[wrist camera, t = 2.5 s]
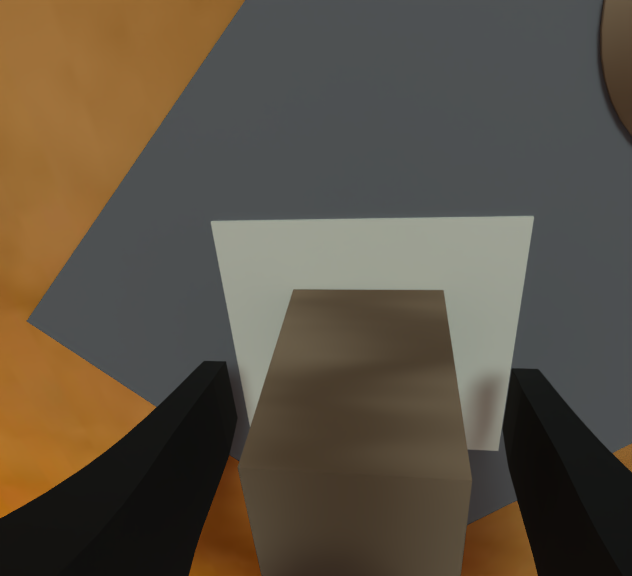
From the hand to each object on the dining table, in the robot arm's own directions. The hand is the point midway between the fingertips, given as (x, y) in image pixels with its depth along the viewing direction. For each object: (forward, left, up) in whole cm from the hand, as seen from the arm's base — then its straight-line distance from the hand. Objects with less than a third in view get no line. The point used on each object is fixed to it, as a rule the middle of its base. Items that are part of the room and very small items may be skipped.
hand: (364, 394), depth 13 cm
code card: (0, 0, -2) cm, 2 cm away
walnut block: (0, 0, -2) cm, 2 cm away
